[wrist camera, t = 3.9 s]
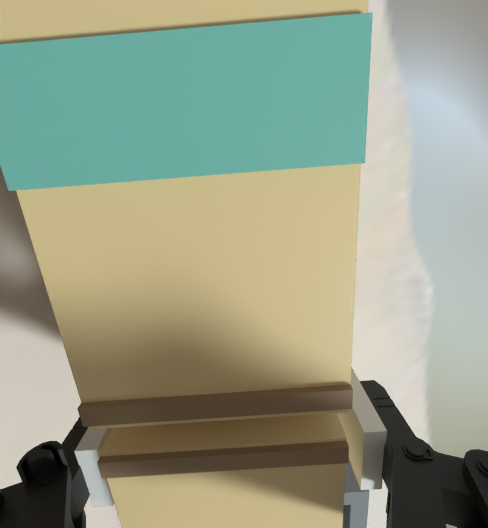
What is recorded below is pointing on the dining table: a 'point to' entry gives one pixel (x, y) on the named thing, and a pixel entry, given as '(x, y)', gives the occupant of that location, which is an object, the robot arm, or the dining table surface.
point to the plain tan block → (229, 473)
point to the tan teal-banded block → (192, 197)
